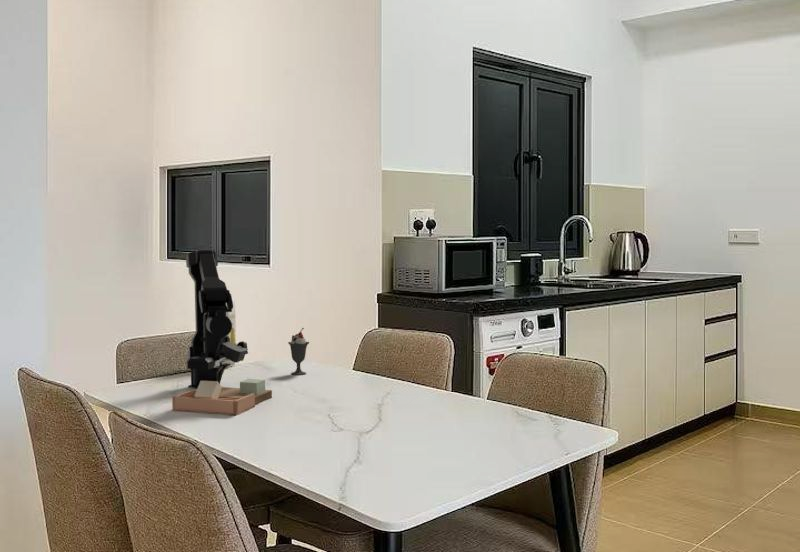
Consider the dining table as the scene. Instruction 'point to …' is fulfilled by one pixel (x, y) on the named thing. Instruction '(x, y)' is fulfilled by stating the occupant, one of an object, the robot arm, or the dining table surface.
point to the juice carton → (232, 330)
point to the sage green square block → (252, 386)
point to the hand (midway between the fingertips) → (215, 391)
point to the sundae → (298, 351)
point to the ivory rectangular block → (208, 390)
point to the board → (244, 394)
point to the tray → (212, 404)
